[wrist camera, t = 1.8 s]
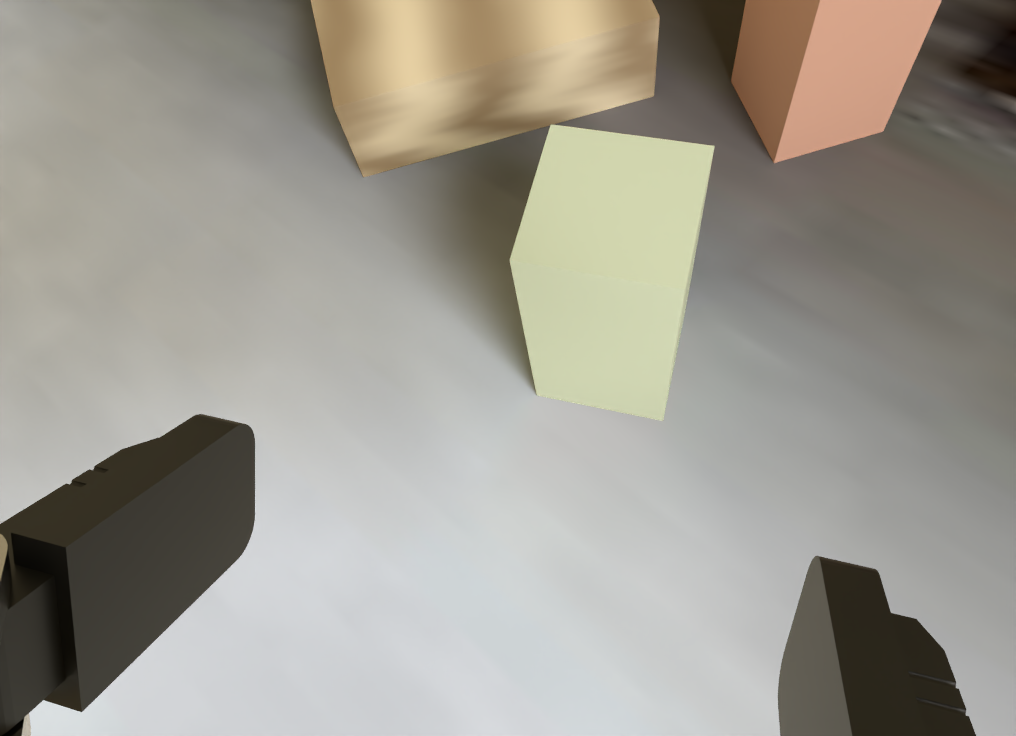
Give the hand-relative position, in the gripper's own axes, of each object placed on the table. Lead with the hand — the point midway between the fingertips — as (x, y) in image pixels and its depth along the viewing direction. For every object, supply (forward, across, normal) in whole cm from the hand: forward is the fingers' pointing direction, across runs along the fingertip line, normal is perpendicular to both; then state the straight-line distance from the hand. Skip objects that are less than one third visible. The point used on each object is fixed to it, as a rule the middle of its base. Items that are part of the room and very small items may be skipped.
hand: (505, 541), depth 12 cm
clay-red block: (+31, -5, -6) cm, 32 cm away
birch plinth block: (+33, +11, -7) cm, 36 cm away
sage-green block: (+22, +1, +4) cm, 22 cm away
